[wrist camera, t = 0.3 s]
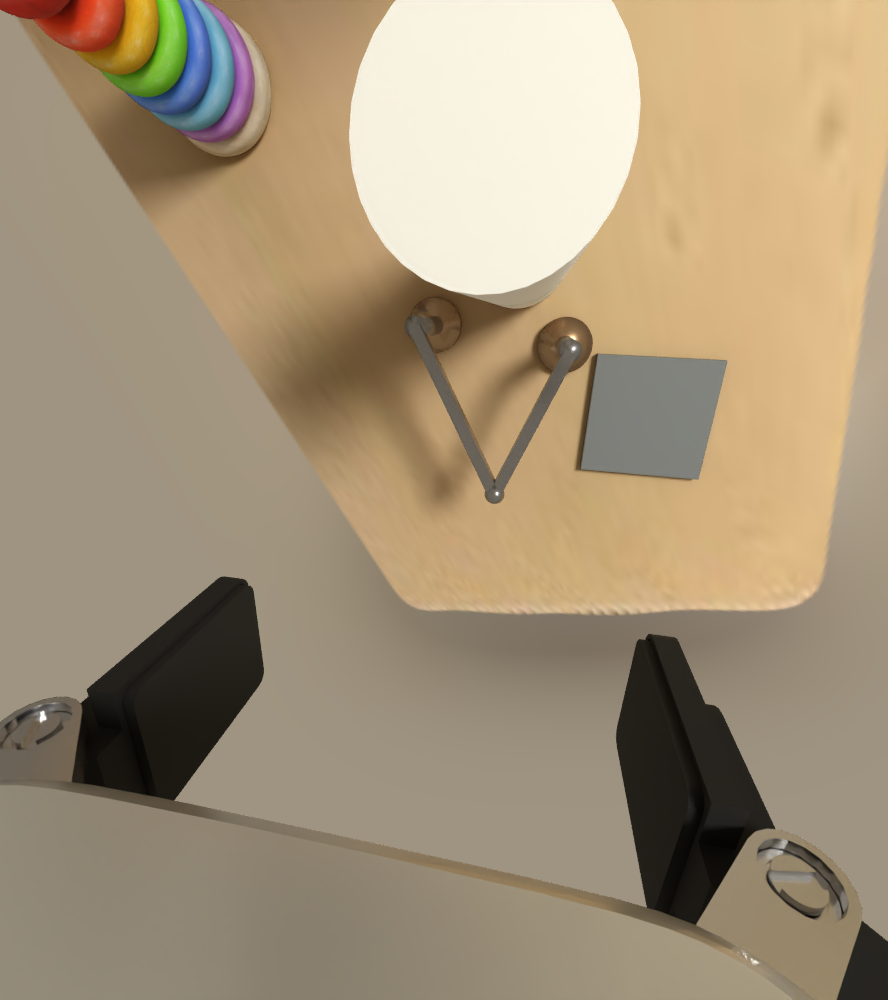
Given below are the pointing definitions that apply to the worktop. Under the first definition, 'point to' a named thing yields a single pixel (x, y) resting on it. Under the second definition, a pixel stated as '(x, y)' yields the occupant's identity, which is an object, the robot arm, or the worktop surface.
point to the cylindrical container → (494, 138)
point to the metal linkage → (434, 332)
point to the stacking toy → (169, 62)
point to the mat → (651, 414)
